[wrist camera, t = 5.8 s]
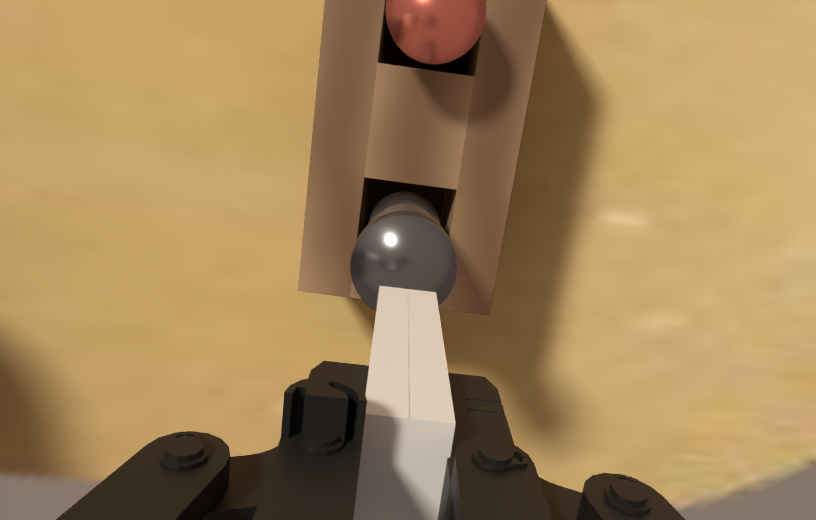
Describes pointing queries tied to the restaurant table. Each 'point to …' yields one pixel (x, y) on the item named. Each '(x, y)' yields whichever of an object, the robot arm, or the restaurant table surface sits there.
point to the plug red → (435, 27)
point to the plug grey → (403, 250)
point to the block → (417, 141)
